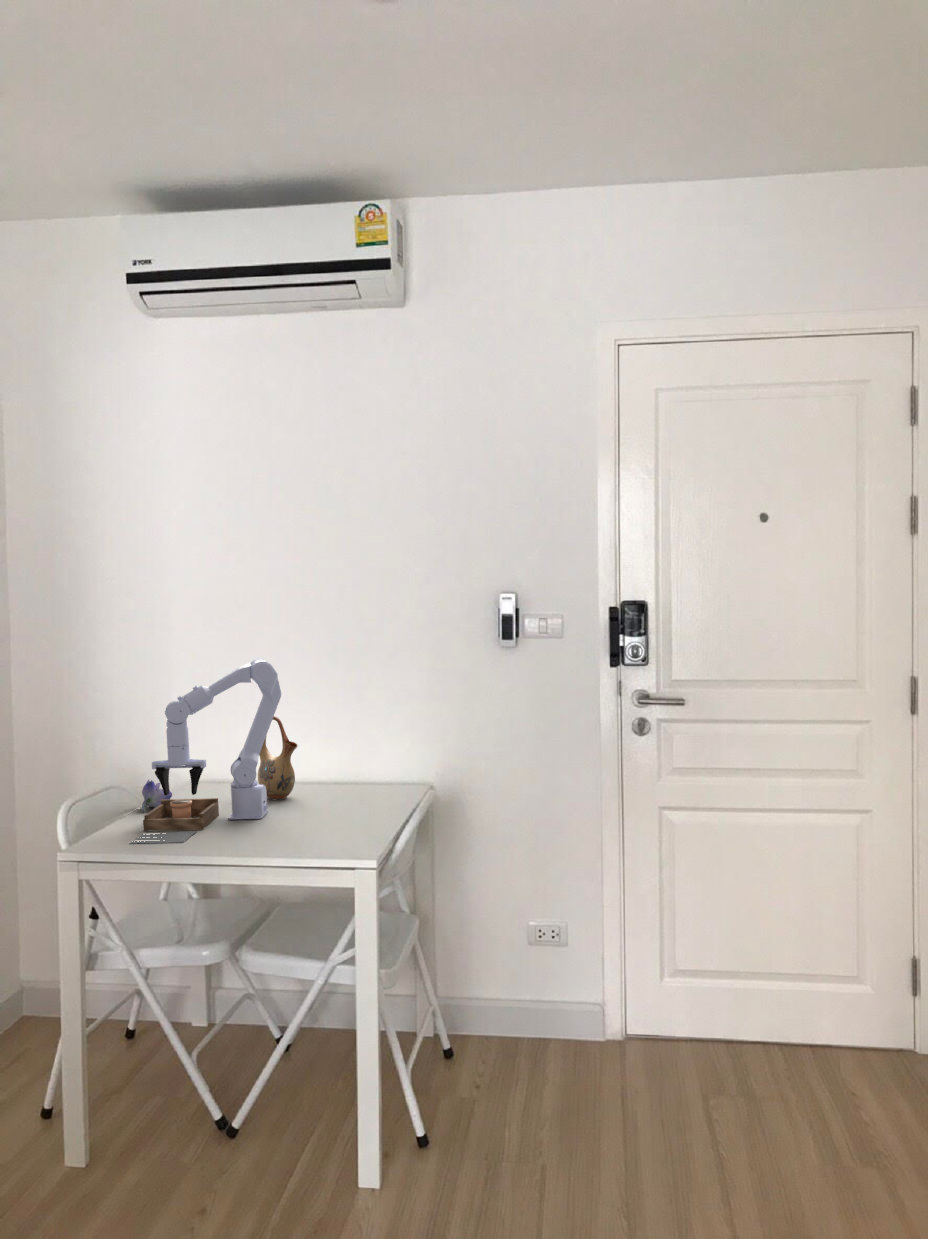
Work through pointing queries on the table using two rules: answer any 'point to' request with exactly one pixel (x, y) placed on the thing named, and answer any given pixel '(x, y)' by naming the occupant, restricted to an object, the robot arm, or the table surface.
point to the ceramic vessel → (277, 768)
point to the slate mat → (165, 837)
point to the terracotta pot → (181, 808)
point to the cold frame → (199, 808)
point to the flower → (153, 795)
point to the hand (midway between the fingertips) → (180, 794)
